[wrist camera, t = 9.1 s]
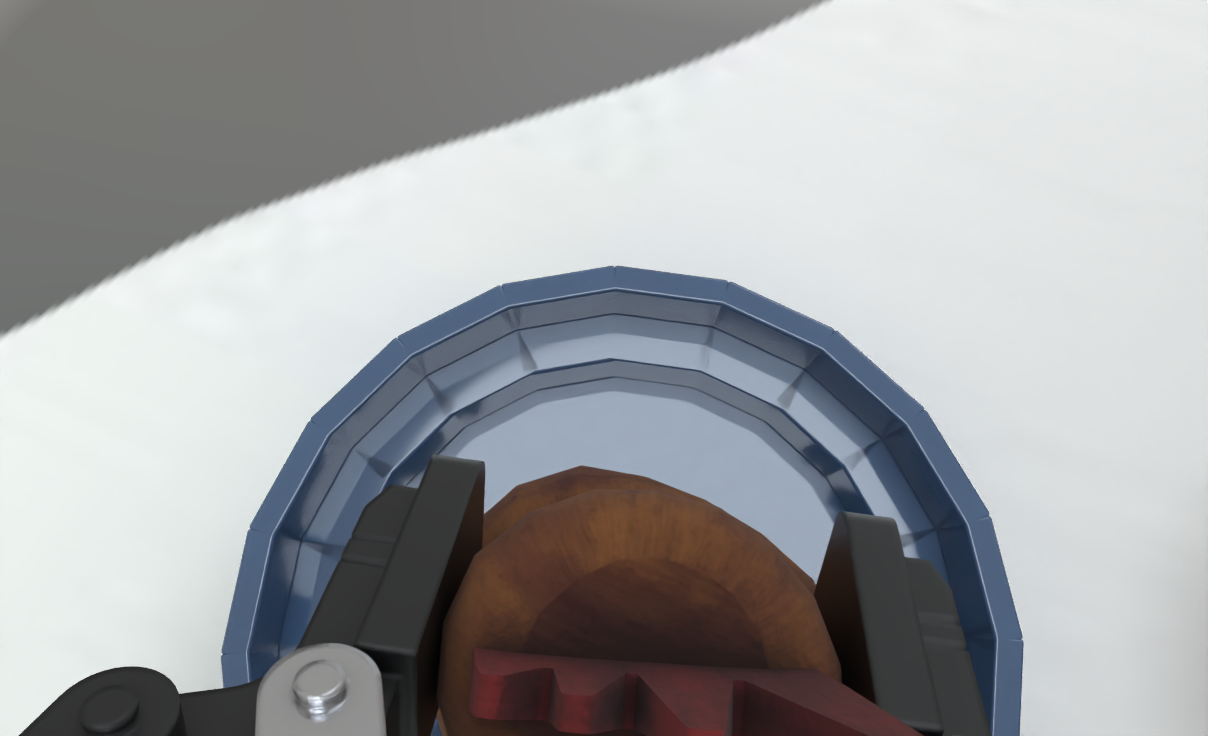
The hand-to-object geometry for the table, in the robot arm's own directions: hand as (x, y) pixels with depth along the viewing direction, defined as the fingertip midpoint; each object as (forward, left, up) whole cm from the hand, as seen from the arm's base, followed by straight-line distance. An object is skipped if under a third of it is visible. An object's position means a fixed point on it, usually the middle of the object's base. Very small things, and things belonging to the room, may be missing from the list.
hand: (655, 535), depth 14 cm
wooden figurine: (0, +2, -8) cm, 8 cm away
